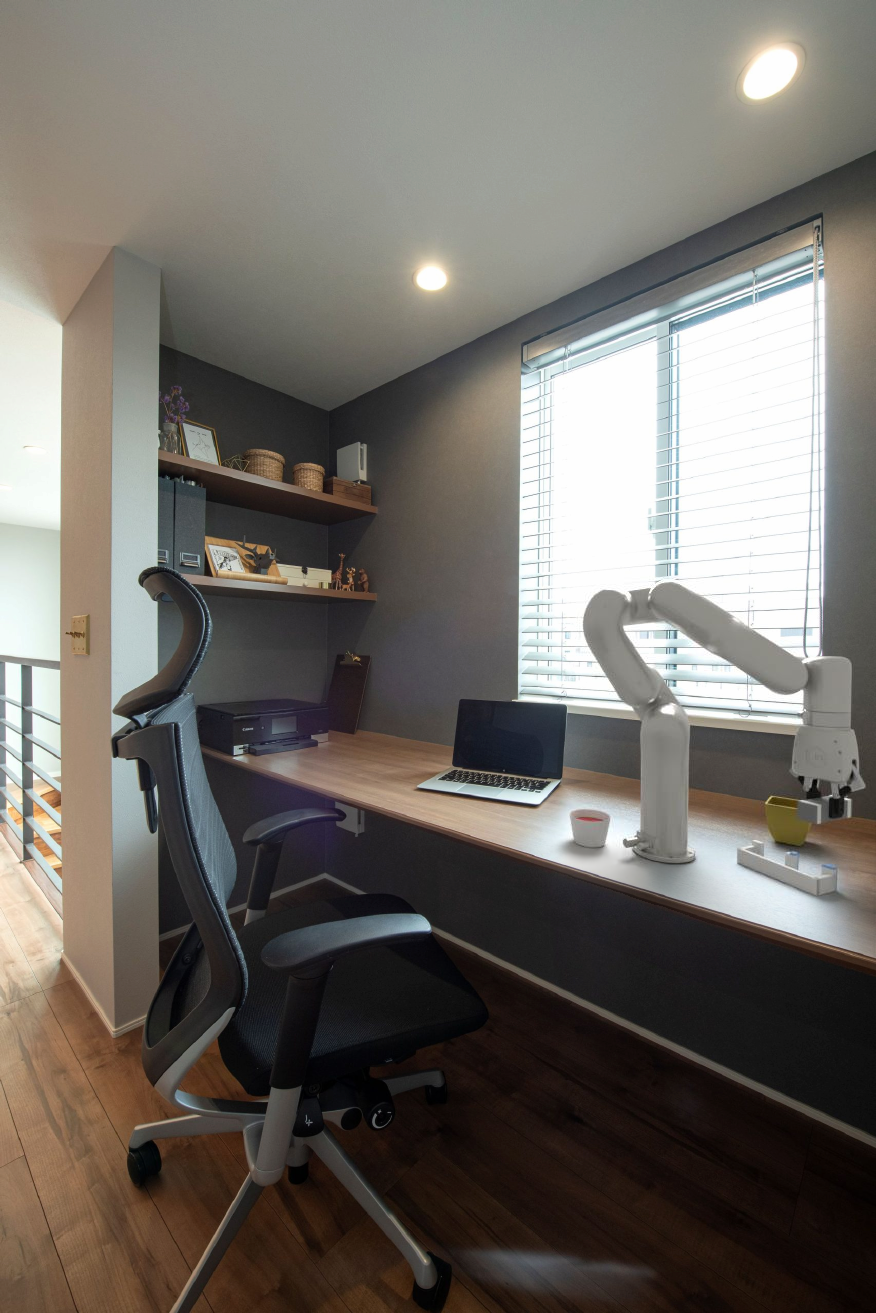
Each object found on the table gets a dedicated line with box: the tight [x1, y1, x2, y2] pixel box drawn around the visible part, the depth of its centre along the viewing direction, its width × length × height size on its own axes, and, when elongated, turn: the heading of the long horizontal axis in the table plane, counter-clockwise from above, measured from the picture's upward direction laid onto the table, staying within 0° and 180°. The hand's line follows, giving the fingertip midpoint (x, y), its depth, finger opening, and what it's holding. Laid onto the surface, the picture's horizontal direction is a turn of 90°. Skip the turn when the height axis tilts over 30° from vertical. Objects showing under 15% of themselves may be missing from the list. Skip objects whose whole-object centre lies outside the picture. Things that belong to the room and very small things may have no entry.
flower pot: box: [764, 795, 813, 847], centre depth 125 cm, size 9×9×9 cm
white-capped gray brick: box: [797, 794, 853, 825], centre depth 106 cm, size 11×4×4 cm, turn 113°
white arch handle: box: [736, 839, 838, 897], centre depth 107 cm, size 6×16×4 cm, turn 23°
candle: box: [569, 808, 611, 849], centre depth 124 cm, size 9×9×6 cm
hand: (824, 813), depth 106 cm, fingers closed on white-capped gray brick, 3 cm apart
